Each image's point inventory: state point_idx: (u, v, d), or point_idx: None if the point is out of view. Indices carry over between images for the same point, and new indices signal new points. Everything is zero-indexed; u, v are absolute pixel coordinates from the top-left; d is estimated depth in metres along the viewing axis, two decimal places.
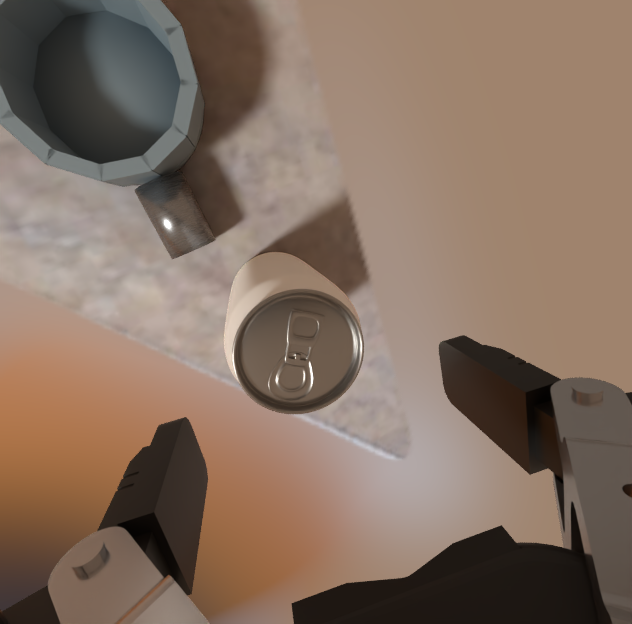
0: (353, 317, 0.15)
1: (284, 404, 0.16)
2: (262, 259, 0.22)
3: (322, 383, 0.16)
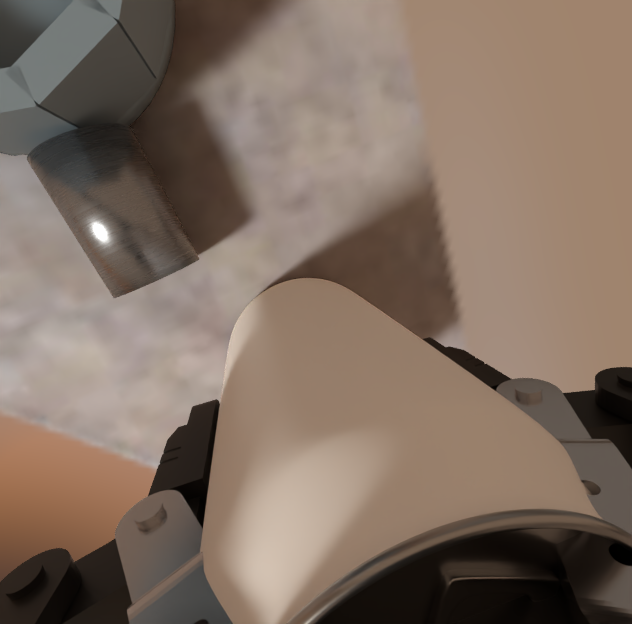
0: None
1: None
2: (289, 300, 0.11)
3: None
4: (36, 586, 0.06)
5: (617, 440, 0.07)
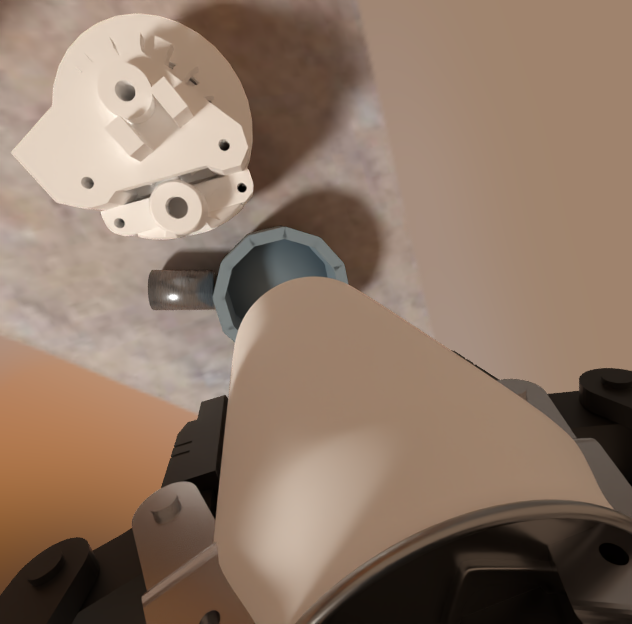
0: None
1: None
2: (296, 298, 0.11)
3: None
4: (57, 573, 0.06)
5: (600, 440, 0.07)
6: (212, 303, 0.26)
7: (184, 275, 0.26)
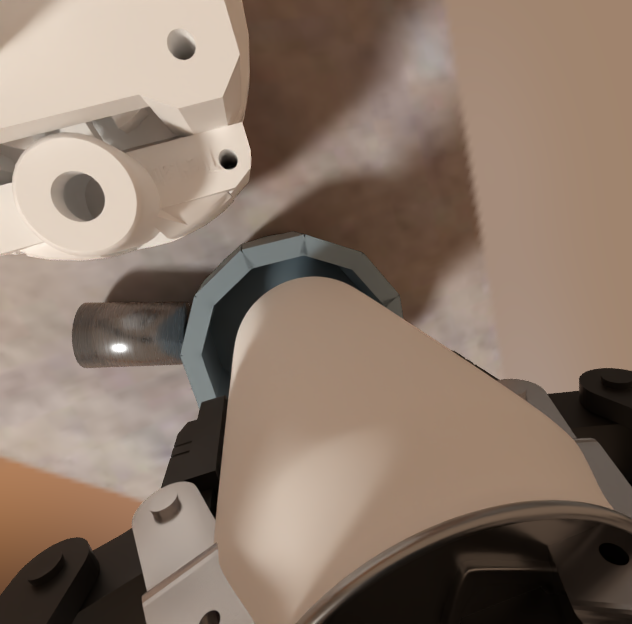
0: None
1: None
2: (296, 298, 0.11)
3: None
4: (57, 573, 0.06)
5: (600, 440, 0.07)
6: None
7: (136, 313, 0.16)
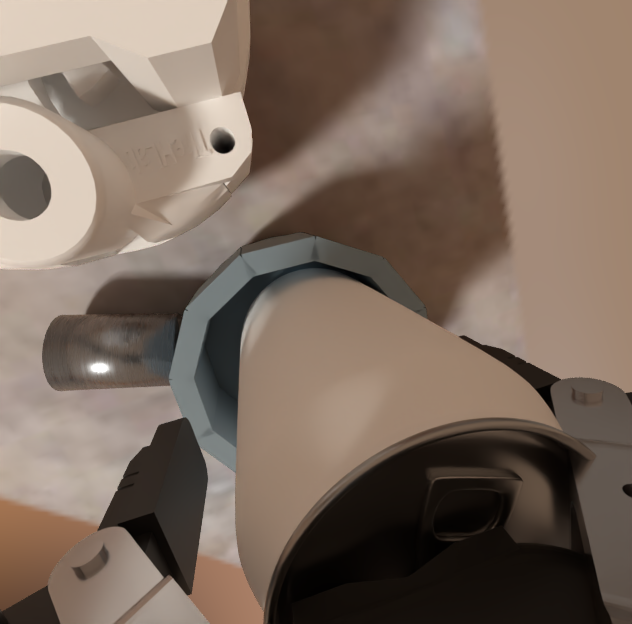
0: None
1: None
2: (294, 288, 0.12)
3: None
4: None
5: None
6: None
7: (119, 327, 0.14)
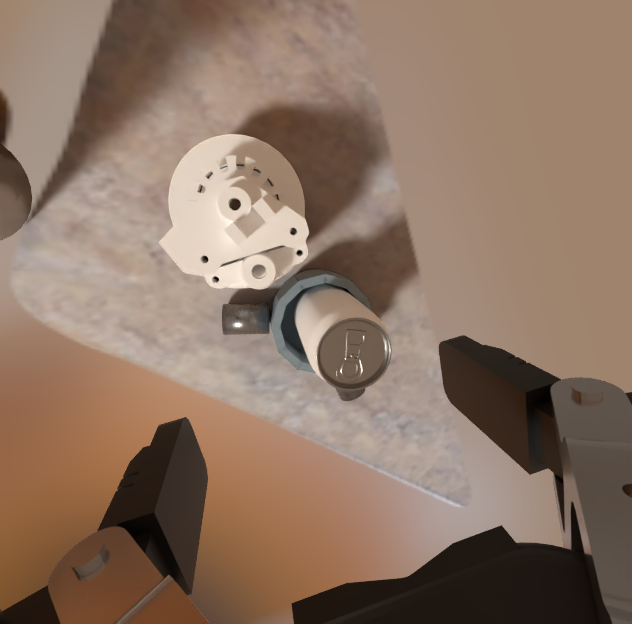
0: (383, 331, 0.26)
1: (346, 385, 0.27)
2: (317, 293, 0.33)
3: (367, 371, 0.27)
4: None
5: None
6: (268, 329, 0.35)
7: (248, 308, 0.34)
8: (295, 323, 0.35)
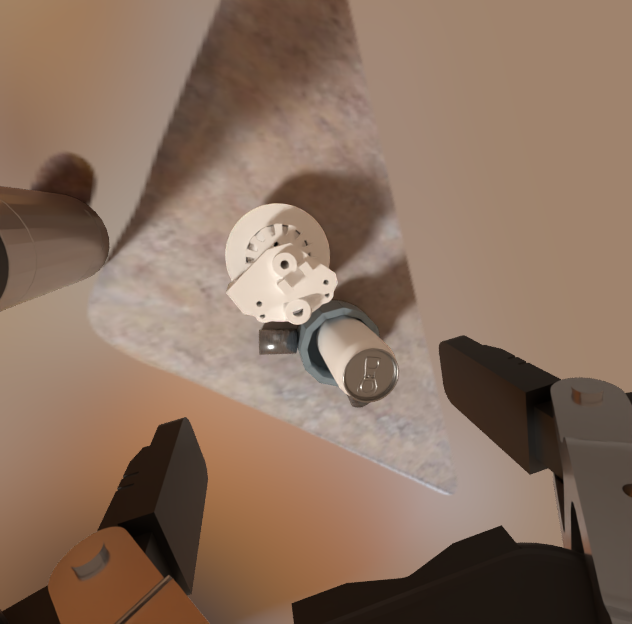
0: (393, 358, 0.34)
1: (364, 398, 0.35)
2: (337, 322, 0.41)
3: (380, 387, 0.35)
4: None
5: None
6: (296, 350, 0.43)
7: (280, 334, 0.42)
8: (317, 345, 0.44)
